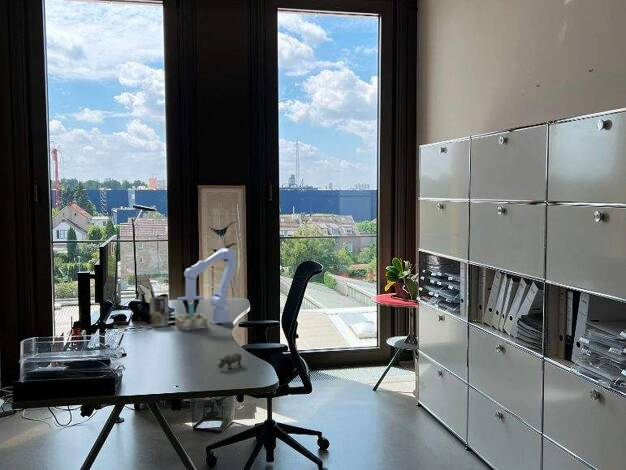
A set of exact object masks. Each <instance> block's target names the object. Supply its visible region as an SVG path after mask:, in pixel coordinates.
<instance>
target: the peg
mask: <svg viewBox="0 0 626 470" xmlns="http://www.w3.org/2000/svg"><path fill="white" fill-rule="evenodd" d="M194 314H195V313H194V303H188V314H187V315H188V317H194Z"/></svg>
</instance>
